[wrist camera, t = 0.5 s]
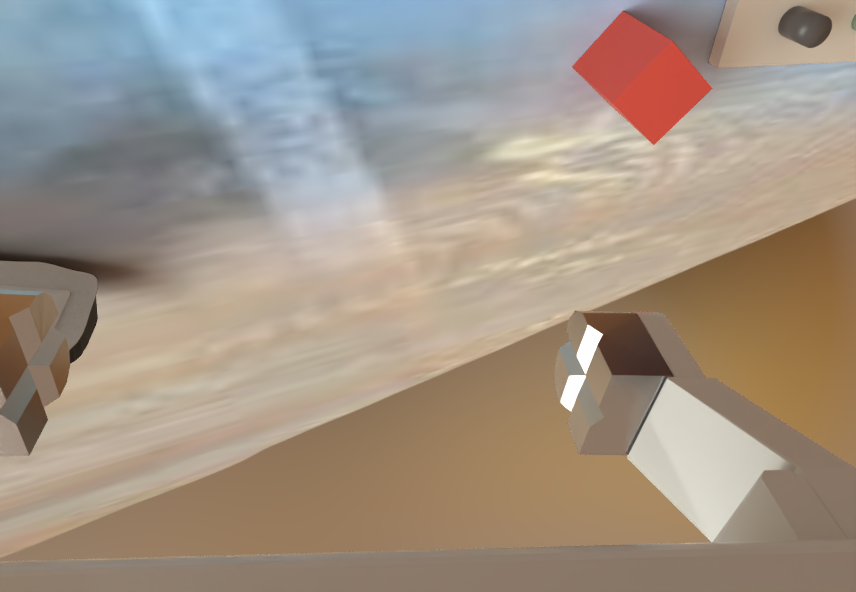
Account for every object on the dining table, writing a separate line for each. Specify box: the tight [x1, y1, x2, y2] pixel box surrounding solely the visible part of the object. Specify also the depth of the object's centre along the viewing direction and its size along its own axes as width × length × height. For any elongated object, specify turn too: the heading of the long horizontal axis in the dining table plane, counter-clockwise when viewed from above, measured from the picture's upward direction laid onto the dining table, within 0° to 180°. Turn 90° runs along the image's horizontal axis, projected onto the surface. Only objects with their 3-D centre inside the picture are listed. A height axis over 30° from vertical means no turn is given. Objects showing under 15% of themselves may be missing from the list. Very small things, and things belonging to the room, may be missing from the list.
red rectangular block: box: [572, 11, 712, 145], centre depth 48 cm, size 6×6×8 cm
